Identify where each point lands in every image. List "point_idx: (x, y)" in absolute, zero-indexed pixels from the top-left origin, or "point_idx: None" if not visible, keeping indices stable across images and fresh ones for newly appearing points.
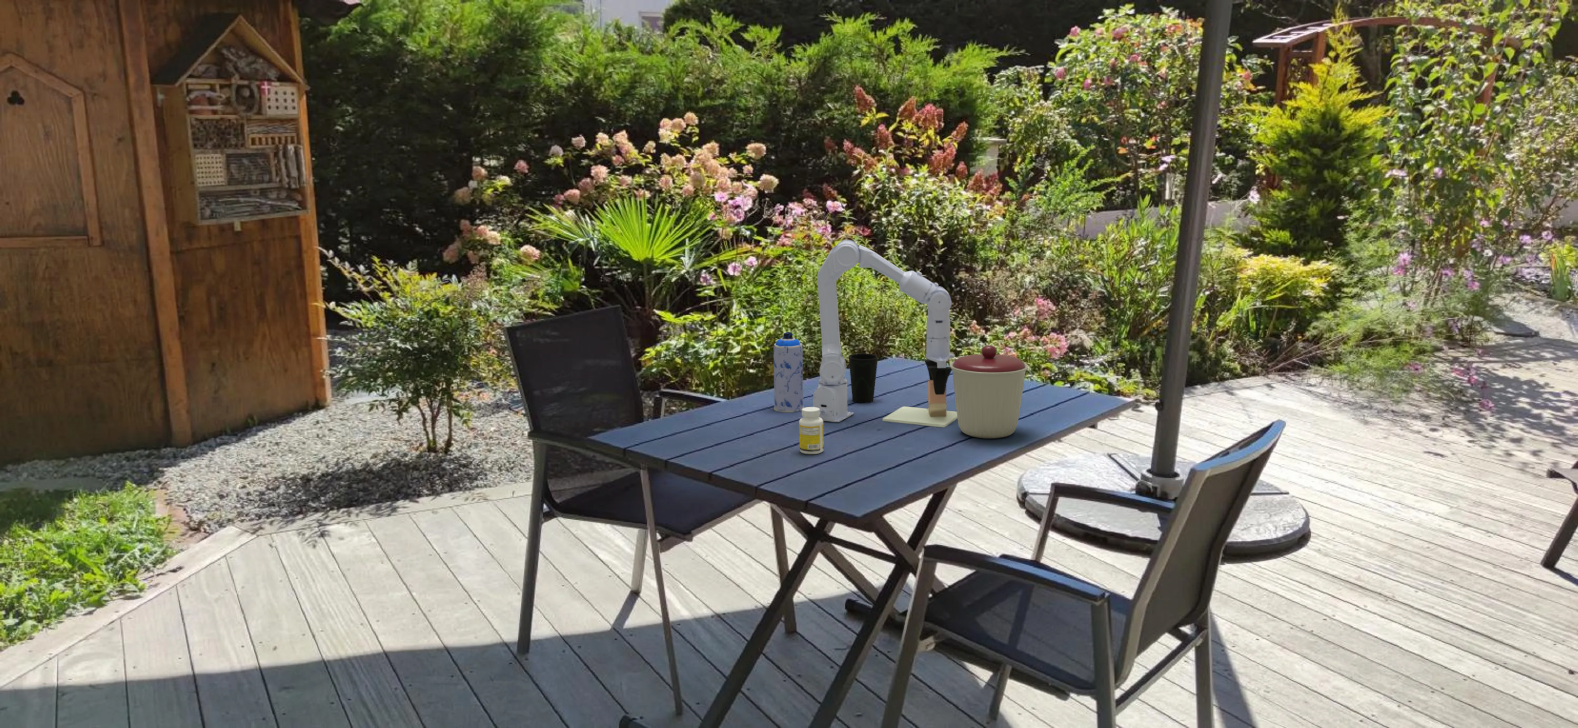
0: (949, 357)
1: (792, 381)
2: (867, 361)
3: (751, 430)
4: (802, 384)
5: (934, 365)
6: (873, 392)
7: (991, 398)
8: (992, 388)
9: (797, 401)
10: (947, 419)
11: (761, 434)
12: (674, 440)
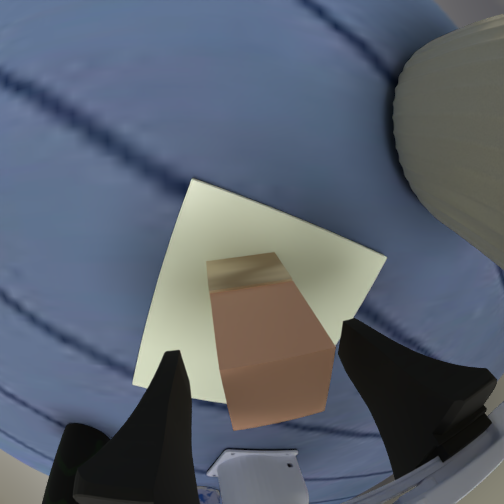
0: (439, 498)
1: None
2: None
3: (321, 484)
4: None
5: (186, 491)
6: (83, 443)
7: None
8: None
9: (211, 501)
10: (319, 247)
11: (343, 473)
12: (344, 493)
